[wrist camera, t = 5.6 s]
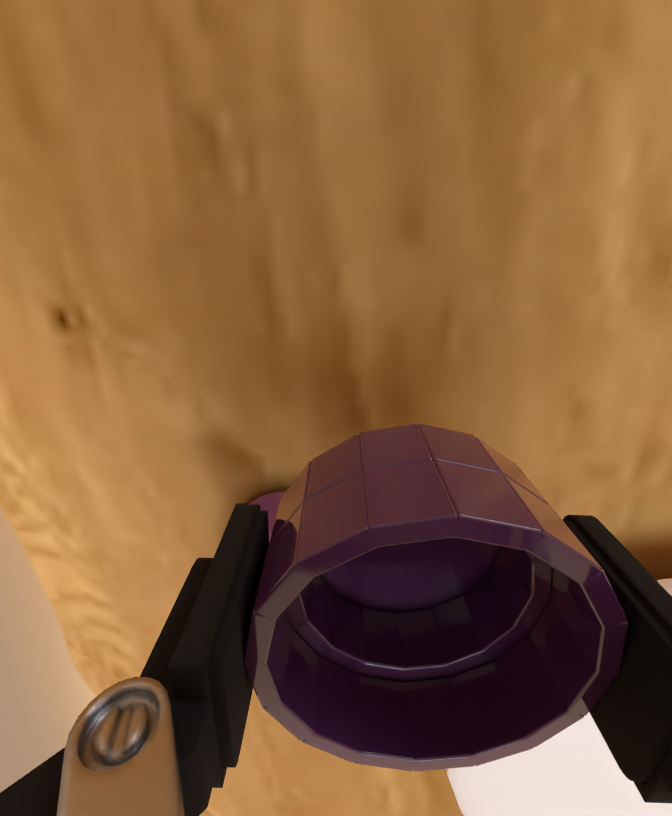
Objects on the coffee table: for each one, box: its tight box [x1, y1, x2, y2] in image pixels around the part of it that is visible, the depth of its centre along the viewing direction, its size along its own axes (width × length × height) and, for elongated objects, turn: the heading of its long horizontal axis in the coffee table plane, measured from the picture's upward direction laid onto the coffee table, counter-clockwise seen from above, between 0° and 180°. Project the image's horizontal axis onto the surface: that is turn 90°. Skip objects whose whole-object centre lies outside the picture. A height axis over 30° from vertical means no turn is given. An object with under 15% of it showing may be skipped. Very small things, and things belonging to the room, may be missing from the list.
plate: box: [446, 578, 672, 816], centre depth 23 cm, size 28×6×27 cm
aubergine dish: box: [244, 424, 628, 771], centre depth 9 cm, size 7×7×4 cm
